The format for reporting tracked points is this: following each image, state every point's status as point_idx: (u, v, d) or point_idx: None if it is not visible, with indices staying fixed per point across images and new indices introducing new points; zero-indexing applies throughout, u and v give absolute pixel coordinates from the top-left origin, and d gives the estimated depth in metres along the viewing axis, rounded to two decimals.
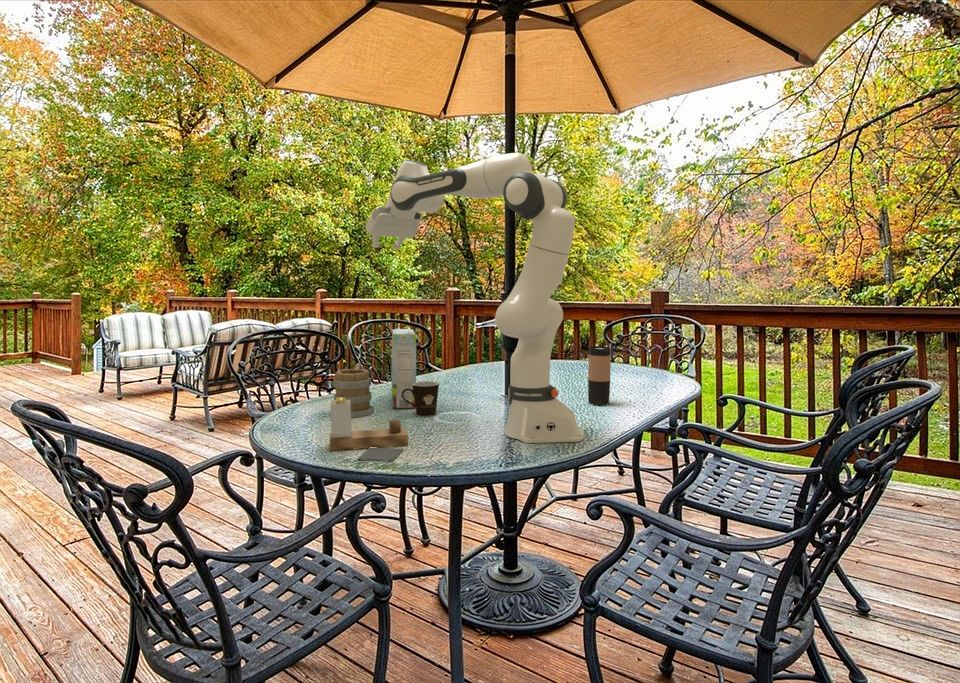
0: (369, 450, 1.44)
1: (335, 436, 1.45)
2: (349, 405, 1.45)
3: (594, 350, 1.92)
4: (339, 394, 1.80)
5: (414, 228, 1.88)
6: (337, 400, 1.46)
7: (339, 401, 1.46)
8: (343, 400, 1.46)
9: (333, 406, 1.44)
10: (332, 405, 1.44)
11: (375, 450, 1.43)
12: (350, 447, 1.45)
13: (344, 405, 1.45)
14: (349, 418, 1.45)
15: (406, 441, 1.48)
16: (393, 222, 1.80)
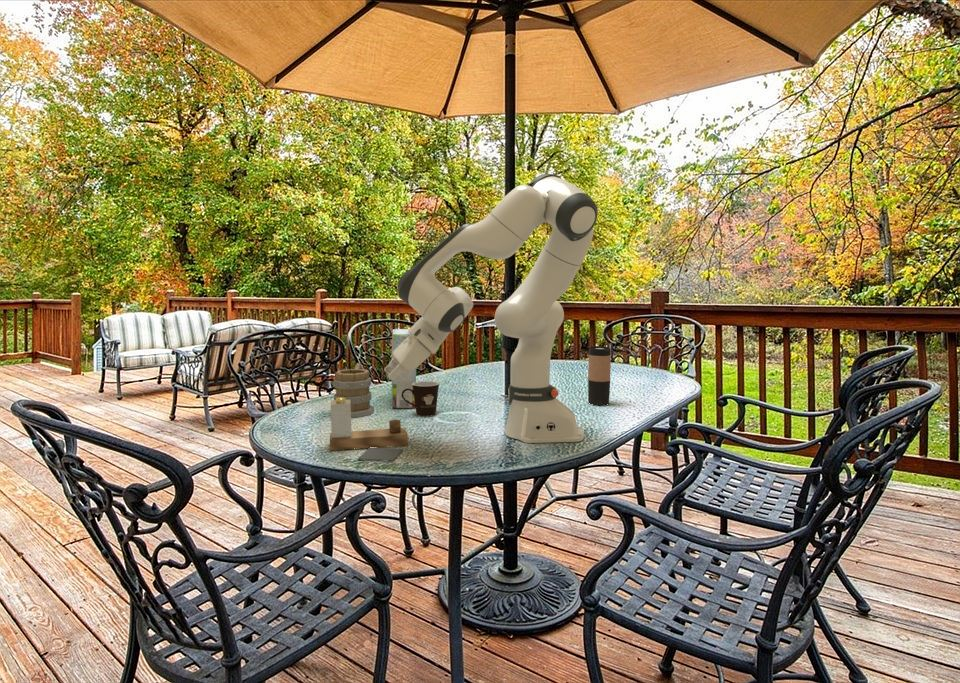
0: (369, 450, 1.44)
1: (335, 436, 1.45)
2: (349, 405, 1.45)
3: (594, 350, 1.92)
4: (339, 394, 1.80)
5: None
6: (337, 400, 1.46)
7: (339, 401, 1.46)
8: (343, 400, 1.46)
9: (333, 406, 1.44)
10: (332, 405, 1.44)
11: (375, 450, 1.43)
12: (350, 447, 1.45)
13: (344, 405, 1.45)
14: (349, 418, 1.45)
15: (406, 441, 1.48)
16: (408, 344, 1.50)
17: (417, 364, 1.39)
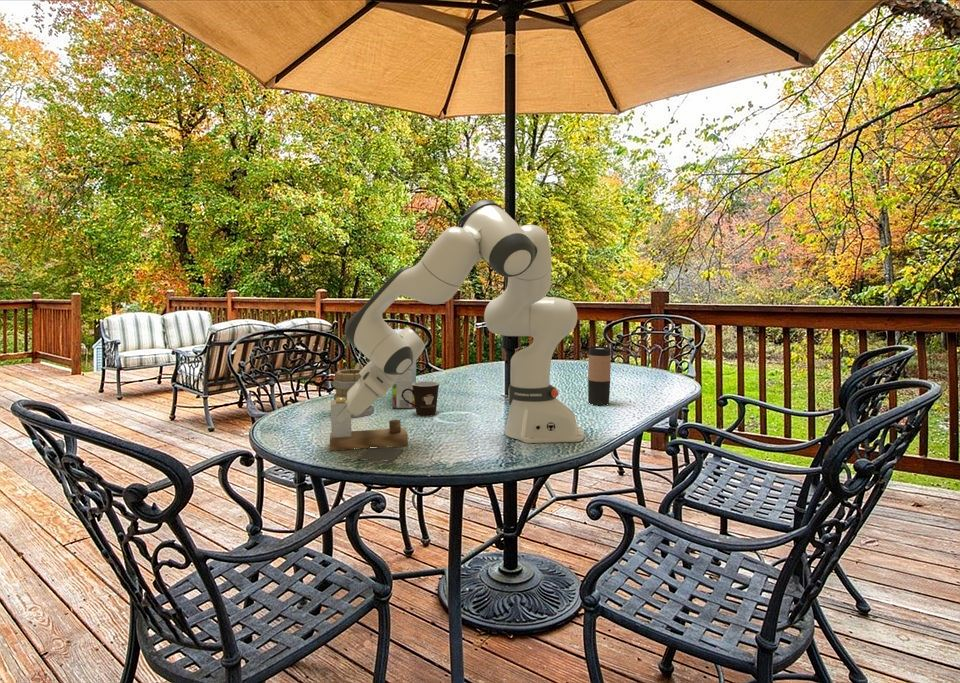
0: (369, 450, 1.44)
1: (335, 436, 1.45)
2: None
3: (594, 350, 1.92)
4: (339, 394, 1.80)
5: None
6: (337, 400, 1.46)
7: (339, 401, 1.46)
8: (343, 400, 1.46)
9: (333, 406, 1.44)
10: (332, 405, 1.44)
11: (375, 450, 1.43)
12: (350, 447, 1.45)
13: (344, 405, 1.45)
14: (349, 418, 1.45)
15: (406, 441, 1.48)
16: (360, 385, 1.50)
17: (364, 408, 1.38)
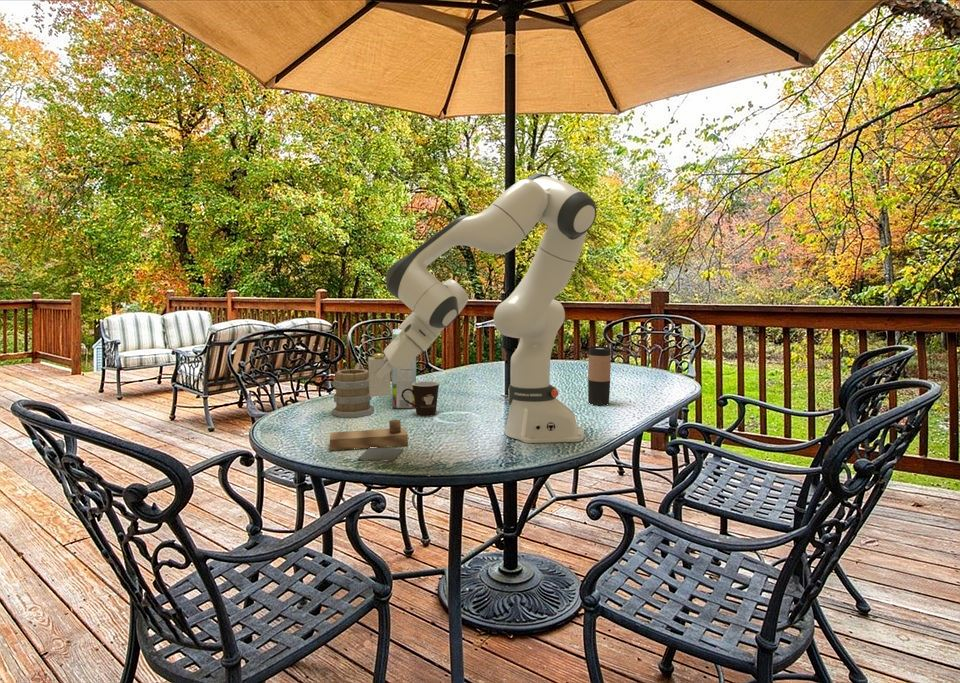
0: (369, 450, 1.44)
1: (374, 394, 1.36)
2: None
3: (594, 350, 1.92)
4: (339, 394, 1.80)
5: None
6: (375, 356, 1.37)
7: (378, 357, 1.37)
8: (382, 356, 1.37)
9: (372, 361, 1.35)
10: (371, 360, 1.35)
11: (375, 450, 1.43)
12: (350, 447, 1.45)
13: (383, 361, 1.36)
14: (388, 375, 1.36)
15: (406, 441, 1.48)
16: (399, 341, 1.41)
17: (406, 362, 1.29)
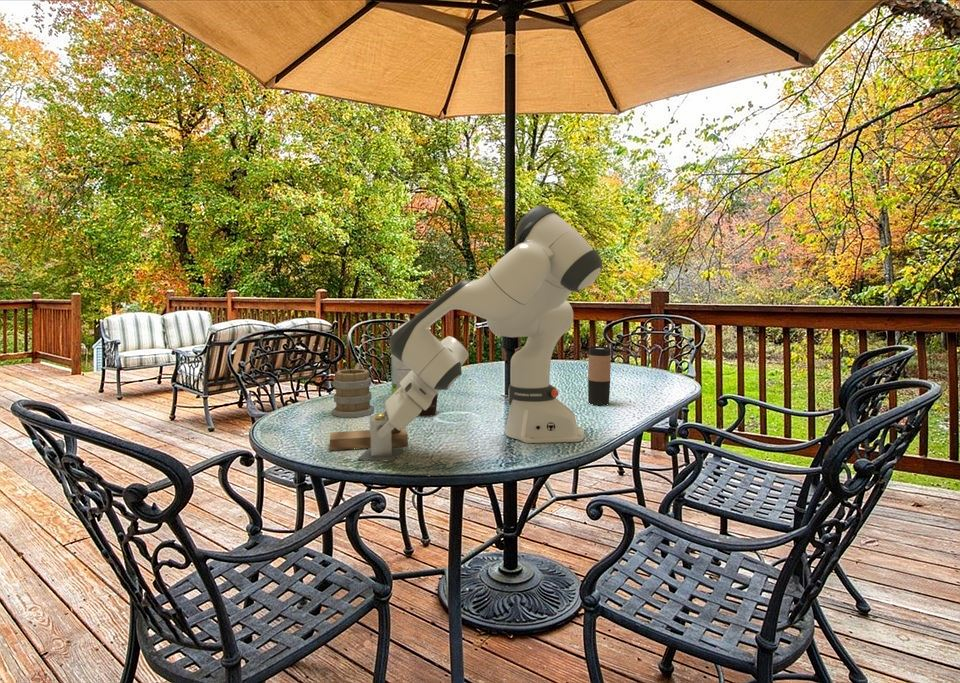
0: (369, 450, 1.44)
1: (375, 455, 1.38)
2: None
3: (594, 350, 1.92)
4: (339, 394, 1.80)
5: None
6: (377, 417, 1.39)
7: (379, 418, 1.39)
8: (383, 417, 1.39)
9: (373, 423, 1.37)
10: (372, 422, 1.37)
11: None
12: (350, 447, 1.45)
13: (384, 422, 1.38)
14: (389, 436, 1.38)
15: (406, 441, 1.48)
16: (399, 396, 1.42)
17: (407, 422, 1.31)
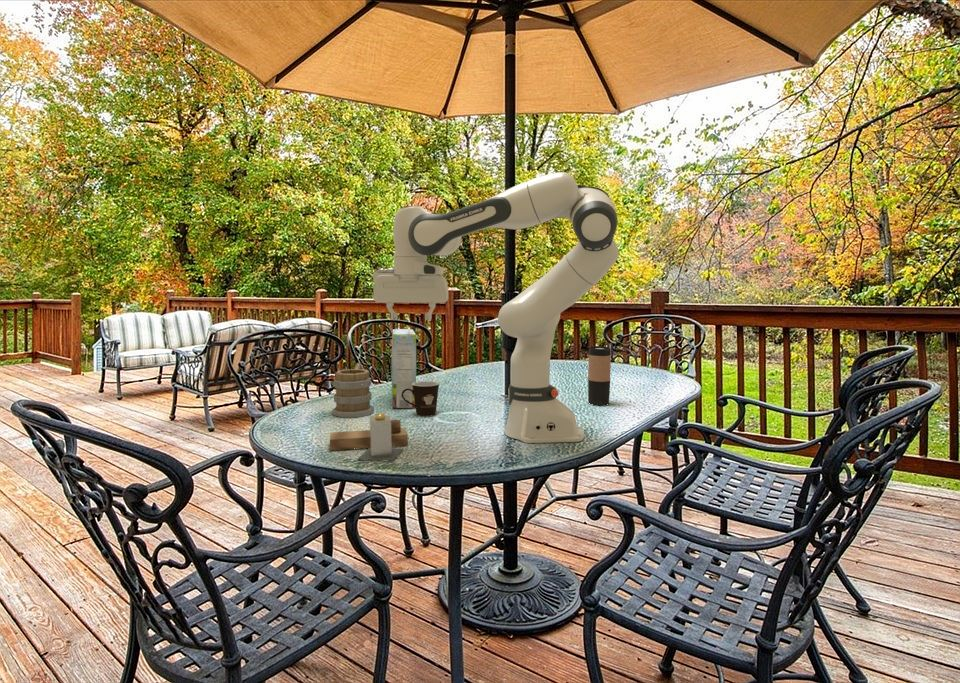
0: (369, 450, 1.44)
1: (375, 455, 1.38)
2: (389, 422, 1.38)
3: (594, 350, 1.92)
4: (339, 394, 1.80)
5: (439, 288, 1.48)
6: (377, 417, 1.39)
7: (379, 418, 1.39)
8: (383, 417, 1.39)
9: (373, 423, 1.37)
10: (372, 422, 1.37)
11: None
12: (350, 447, 1.45)
13: (384, 422, 1.38)
14: (389, 436, 1.38)
15: (406, 441, 1.48)
16: (401, 283, 1.49)
17: None
